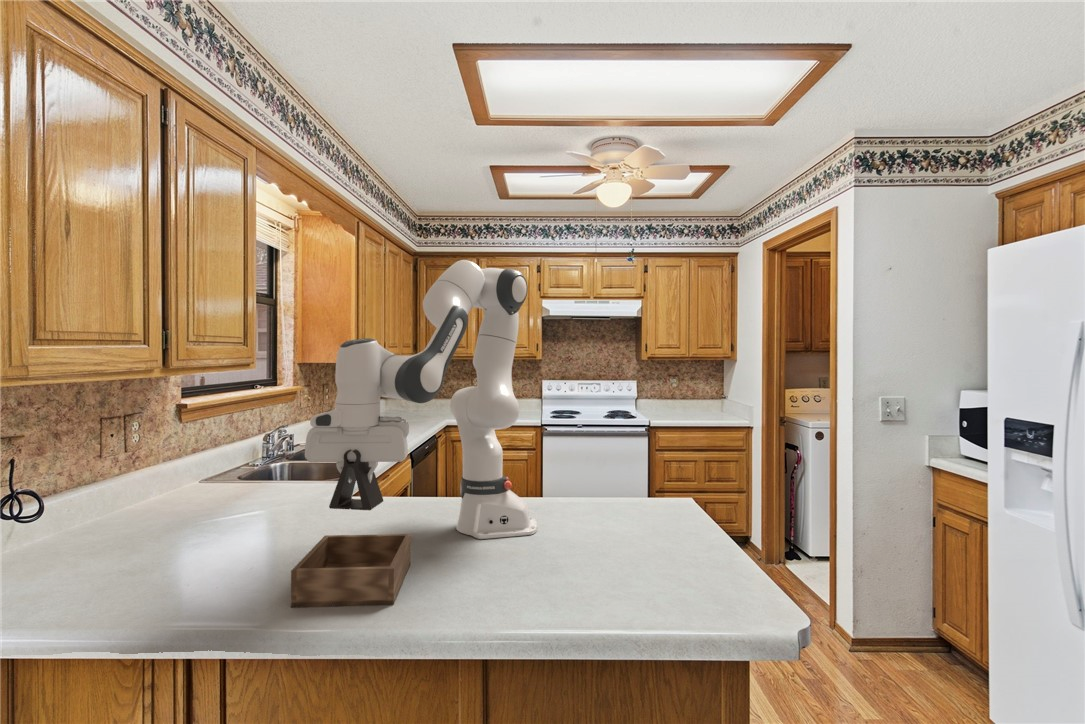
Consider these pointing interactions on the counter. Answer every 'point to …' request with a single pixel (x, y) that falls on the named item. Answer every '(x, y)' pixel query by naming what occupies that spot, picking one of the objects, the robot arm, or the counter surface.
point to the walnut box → (352, 571)
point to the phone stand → (344, 490)
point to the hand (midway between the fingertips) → (357, 482)
